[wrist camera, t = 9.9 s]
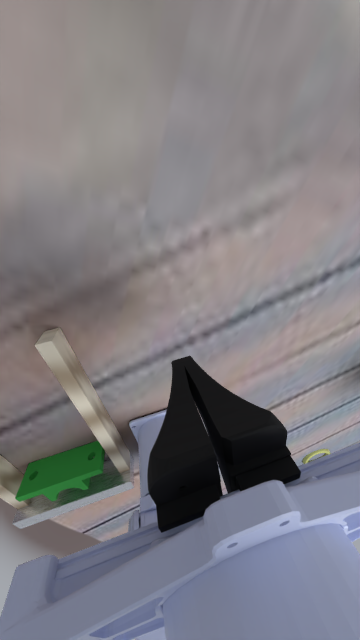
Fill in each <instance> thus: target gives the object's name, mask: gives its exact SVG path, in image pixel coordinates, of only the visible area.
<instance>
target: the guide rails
mask: <svg viewBox="0 0 360 640" xmlns="http://www.w3.org/2000/svg"><path fill="white" fill-rule="evenodd" d="M35 347H36V348H37V350H38V351H39V353H40V354H41V356H42V357H43V359H44V360H45V362H46V363H47V365H48V366H49V368H50V369H51V371H52V372H53V374H54V375H55V377H56V378H57V380H58V381H59V383H60V384H61V386H62V387H63V389H64V390H65V392H66V393H67V395H68V396H69V398H70V399H71V401H72V402H73V404H74V405H75V407H76V408H77V410H78V411H79V413H80V414H81V416H82V417H83V419H84V420H85V422H86V423H87V425H88V426H89V428H90V429H91V431H92V432H93V434H94V435H95V437H96V438H97V440H98V441H99V443H100V444H101V446H102V447H103V449H104V450H105V452H106V453H107V455H108V456H109V458H110V459H111V461H112V462H113V464H114V465H115V467H116V468H117V470H118V471H119V473H123V472H126V471H129V470H130V452H129V450H128V448H127V447H126V445H125V443H124V441H123V439H122V438H121V436H120V434H119V432H118V431H117V429H116V427H115V425H114V423H113V422H112V420H111V418H110V416H109V414H108V413H107V411H106V409H105V407H104V405H103V404H102V402H101V400H100V398H99V397H98V395H97V393H96V391H95V389H94V388H93V386H92V384H91V382H90V380H89V379H88V377H87V375H86V373H85V371H84V370H83V368H82V366H81V364H80V363H79V361H78V359H77V357H76V355H75V354H74V352H73V350H72V348H71V346H70V345H69V343H68V341H67V339H66V337H65V336H64V334H63V332H62V330H61V329H60V328H56V329H52V330H48V331H44V333H43V334H42V336H41V337H40V338H39V340H38V341H37V342H36V344H35ZM23 477H24V474H22V473H21V472H20V471H19V470H18V469H17V468H15V467H14V466H13V465H12V464H11V463H10V462H8V461H7V460H6V459H5V458H4V457H3V456H1V455H0V498H1V499H3V500H4V501H6V502H7V503H9V504H10V505H12V506H13V507H15V508H16V509H20V508H23V507H26V506H29V503H30V500H31V498H30V499H27V500H24V501H21V502H19V501H18V500H16V499H15V497H16V494H17V492H18V489H19V487H20V484H21V482H22V479H23Z"/></svg>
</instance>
